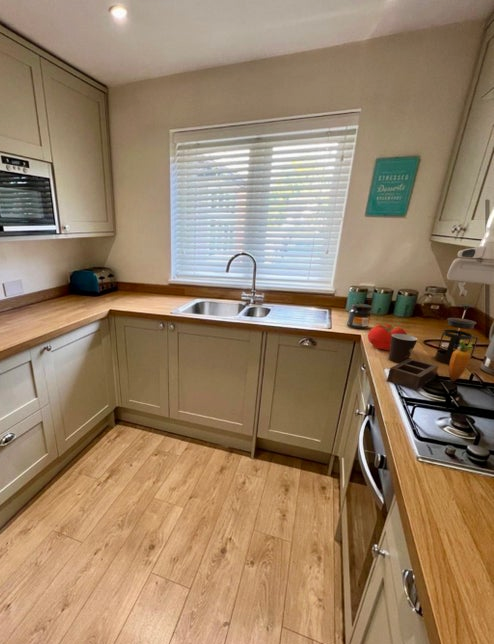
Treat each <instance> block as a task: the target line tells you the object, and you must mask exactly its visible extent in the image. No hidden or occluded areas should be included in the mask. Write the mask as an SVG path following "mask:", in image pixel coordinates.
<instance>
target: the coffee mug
mask: <svg viewBox="0 0 494 644" xmlns="http://www.w3.org/2000/svg"><path fill="white" fill-rule="evenodd" d="M417 342H418V338H417V337H416V336H413V335H410V334H407V335H405V334H392V336H391V345H390V350H389V354H388V360H389V361H390V362H392V363H395V364H399V363H401V362H403V361H405V360H407V359H409V358H411V355H412V353H413V351H414V349H415V346H416V344H417Z"/></svg>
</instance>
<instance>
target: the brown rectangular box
mask: <svg viewBox="0 0 494 644" xmlns="http://www.w3.org/2000/svg"><path fill="white" fill-rule="evenodd" d="M438 369H439V365H436V364H433V363H429V362H427V361H422V360H418V359H415V358H411V357H410V358H409V359H407V360H405V361H403V362H401V363H396V364H395V365H393V366H391V367H390V368H389V372H388V375H387V379H386V382H388V383H390V384H394V385H396V386H399V387H403V388H406V389H409V390H412V391H415V392H417V391H419V390H420V389H422V388H423V387H425V386H426V385H427V384H429V383H430V382H432V381H434V380H435V379H436V375H437V372H438ZM433 377H434V378H433ZM431 378H432V379H431ZM429 379H431V380H429ZM428 380H429V381H428ZM426 381H428V382H426ZM425 382H426V383H425Z"/></svg>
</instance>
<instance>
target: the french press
mask: <svg viewBox="0 0 494 644" xmlns="http://www.w3.org/2000/svg"><path fill="white" fill-rule="evenodd" d="M459 306H460V307H463V313H462V317H461V318H460V317H447V319H446V320H447V323H448V325H449V326H450V327H452V328H458V329H443V331H442V334H441V337H440V340H439V344H438V347H437V350H436V353H435V356H434V358H433V359H434V361H436V362H439V363H441V364H445V365H449V364H450V360H451V356H452V353H453V352H454V351H455V350H461V349H460V341H461V340H468V343H467V345H466V346H468V345H469V344H470V343H471V340H472V338H474V339H475V342H474V343H473V347H472V350H471V352H470V354H471V357H470V360H471V359H472V357H473V355H474V351H475V349H476V347H477V343H478V341H479V337H478V336H476V335H473V334H472V333H470V332H467V331H465V330H472V329H474V327H475V325H477V322H476V321H474V320H470V319H466V318H464V317H465V314H466V311H468V308H474V305H471V304H459ZM460 329H464V331H463V330H460ZM444 336H446V337H448V338H450V340H449V342H442V341H443V338H444ZM440 348H443V349H440ZM466 351H467V352H468V350H466Z"/></svg>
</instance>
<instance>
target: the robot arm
mask: <svg viewBox="0 0 494 644" xmlns="http://www.w3.org/2000/svg"><path fill="white" fill-rule="evenodd" d="M457 257H458V258H457ZM457 257H456V258H455V259H454V260H453V261H452V263H451V265H450V266H449V269H448V271H447V275H446V278H447V280H448V281H453V282H458V283H457V286H458V289H459V294H458V296H459V297H466V296H467V293H468V290H466V289H465V285H466V283H471V284H480V285H490V286H494V206H493V207H492V209H491V211H490V214H489V216H488V219H487V222H486V225H485V233H484V236H483V237H482V239H481V240H480V242H479V245H478V246H474V247H473V246H472V247H469V248H466V249H465V248H464V249H461V250H459V251H458V252H457Z"/></svg>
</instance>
